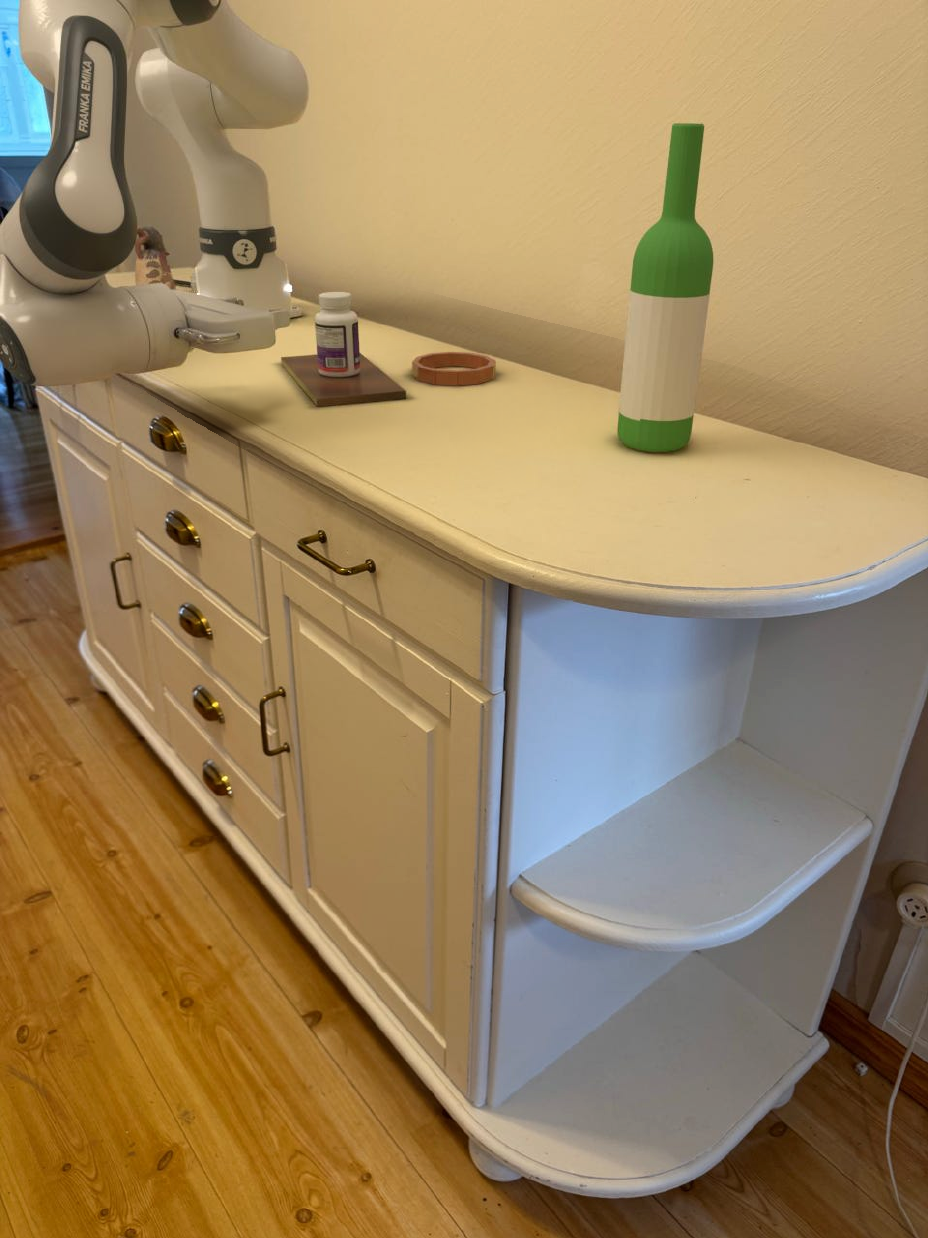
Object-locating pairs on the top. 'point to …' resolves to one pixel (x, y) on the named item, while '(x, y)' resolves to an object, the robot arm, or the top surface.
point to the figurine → (152, 259)
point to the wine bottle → (667, 310)
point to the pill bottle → (337, 336)
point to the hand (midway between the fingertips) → (263, 311)
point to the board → (342, 382)
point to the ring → (428, 374)
